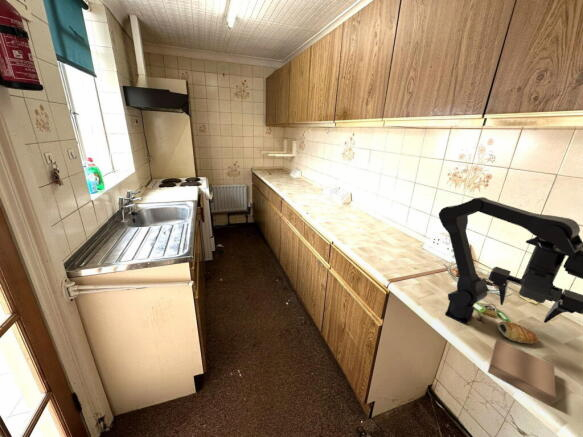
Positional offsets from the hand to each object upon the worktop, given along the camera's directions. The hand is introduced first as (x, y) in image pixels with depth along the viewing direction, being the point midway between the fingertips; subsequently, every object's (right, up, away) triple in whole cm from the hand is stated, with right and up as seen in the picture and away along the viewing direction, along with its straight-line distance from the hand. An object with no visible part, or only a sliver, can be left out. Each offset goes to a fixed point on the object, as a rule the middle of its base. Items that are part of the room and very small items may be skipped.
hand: (522, 312), depth 69 cm
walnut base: (-4, -15, -4) cm, 16 cm away
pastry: (+7, -13, +6) cm, 16 cm away
